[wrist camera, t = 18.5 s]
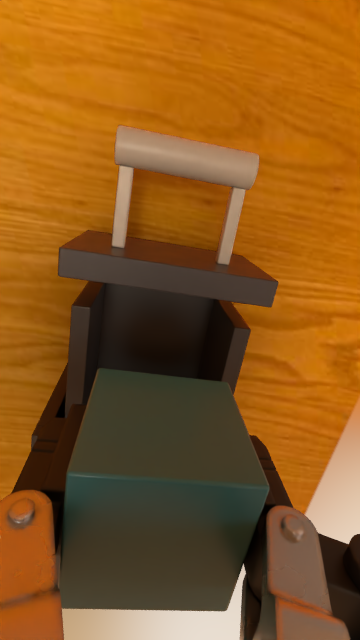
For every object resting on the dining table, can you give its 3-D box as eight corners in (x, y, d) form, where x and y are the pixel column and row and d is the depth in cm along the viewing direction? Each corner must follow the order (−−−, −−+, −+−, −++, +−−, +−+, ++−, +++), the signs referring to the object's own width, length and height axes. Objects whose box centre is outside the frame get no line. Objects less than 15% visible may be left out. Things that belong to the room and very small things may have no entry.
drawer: (94, 132, 17) (65, 102, 11) (264, 166, 18) (315, 156, 13) (75, 387, 22) (48, 454, 17) (208, 400, 24) (226, 468, 18)
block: (98, 366, 11) (65, 472, 7) (228, 381, 12) (271, 487, 7) (87, 470, 13) (55, 610, 8) (203, 479, 13) (227, 613, 9)
